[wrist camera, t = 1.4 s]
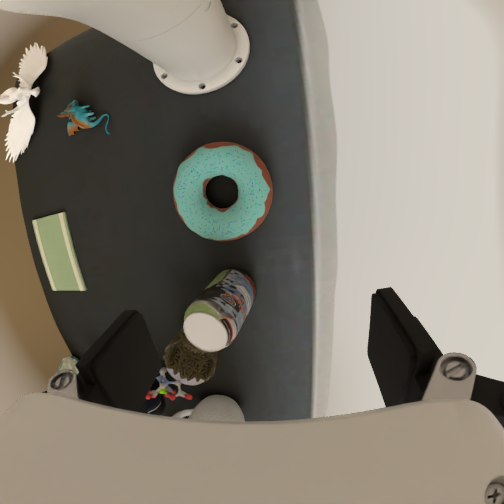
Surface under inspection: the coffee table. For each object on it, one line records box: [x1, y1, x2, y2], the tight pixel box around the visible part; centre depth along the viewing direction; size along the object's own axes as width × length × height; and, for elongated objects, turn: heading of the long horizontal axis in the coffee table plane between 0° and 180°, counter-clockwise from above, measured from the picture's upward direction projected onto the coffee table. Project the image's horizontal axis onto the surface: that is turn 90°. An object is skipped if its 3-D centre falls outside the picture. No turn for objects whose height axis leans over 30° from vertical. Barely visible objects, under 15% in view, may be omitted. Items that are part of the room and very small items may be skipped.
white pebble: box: [167, 368, 204, 385], centre depth 43 cm, size 8×8×2 cm
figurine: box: [0, 43, 48, 163], centre depth 26 cm, size 12×25×14 cm
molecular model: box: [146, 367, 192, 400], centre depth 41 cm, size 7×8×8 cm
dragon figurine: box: [57, 100, 110, 136], centre depth 30 cm, size 7×7×8 cm
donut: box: [173, 142, 273, 241], centre depth 31 cm, size 12×12×4 cm
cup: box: [163, 328, 218, 382], centre depth 37 cm, size 8×7×8 cm
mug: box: [172, 395, 245, 422], centre depth 41 cm, size 15×11×13 cm
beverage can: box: [183, 269, 257, 352], centre depth 32 cm, size 6×7×12 cm
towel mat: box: [32, 212, 87, 291], centre depth 39 cm, size 14×10×1 cm
